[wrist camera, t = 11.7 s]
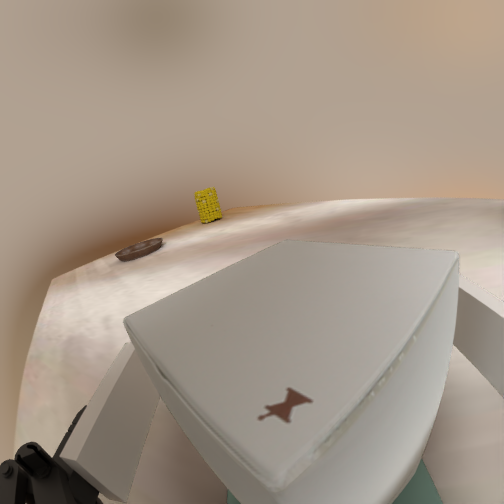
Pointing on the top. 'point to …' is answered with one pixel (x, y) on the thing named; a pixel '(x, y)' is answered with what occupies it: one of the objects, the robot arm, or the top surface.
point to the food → (208, 205)
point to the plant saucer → (139, 249)
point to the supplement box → (307, 367)
